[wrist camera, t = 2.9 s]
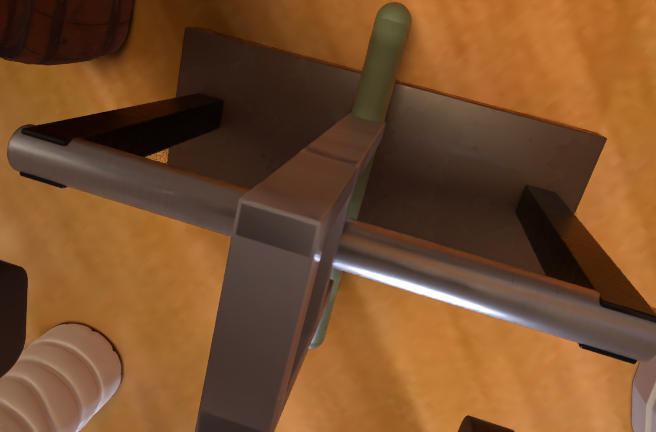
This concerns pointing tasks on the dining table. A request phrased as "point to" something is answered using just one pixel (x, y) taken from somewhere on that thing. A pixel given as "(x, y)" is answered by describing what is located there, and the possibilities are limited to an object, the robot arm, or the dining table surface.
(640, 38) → the dining table surface
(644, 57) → the dining table surface
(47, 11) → the wooden figurine
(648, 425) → the dish
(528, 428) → the dining table surface
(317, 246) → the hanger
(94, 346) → the water bottle
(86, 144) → the rail stand
